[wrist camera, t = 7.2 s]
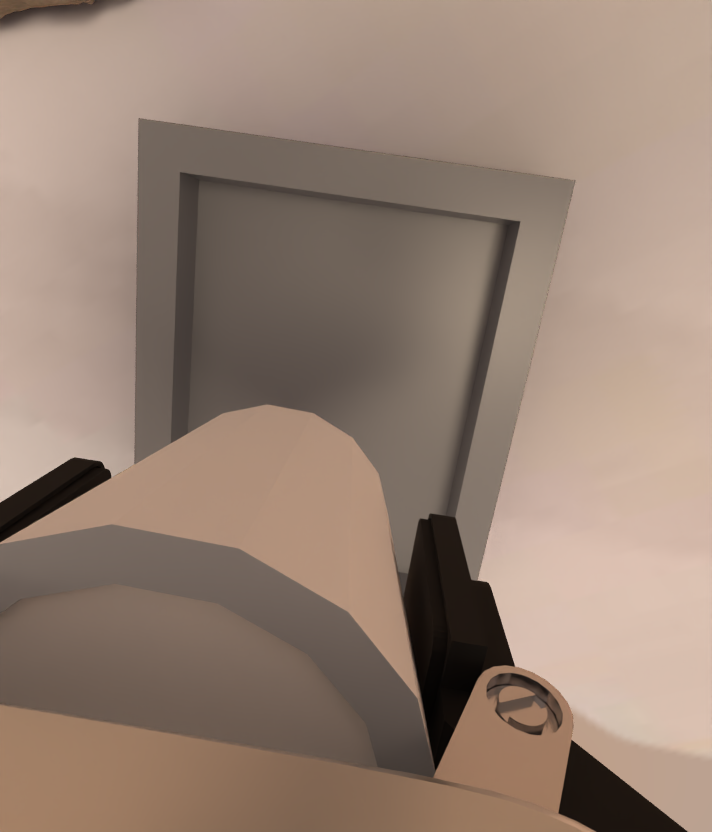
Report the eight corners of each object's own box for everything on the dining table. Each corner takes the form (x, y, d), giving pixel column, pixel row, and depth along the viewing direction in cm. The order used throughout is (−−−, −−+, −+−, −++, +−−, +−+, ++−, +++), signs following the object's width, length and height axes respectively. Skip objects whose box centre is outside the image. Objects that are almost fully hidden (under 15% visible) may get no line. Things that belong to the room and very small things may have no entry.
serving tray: (172, 136, 22) (138, 118, 19) (550, 191, 21) (575, 180, 18) (159, 549, 28) (132, 583, 25) (455, 596, 27) (463, 636, 24)
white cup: (219, 658, 14) (69, 1008, 8) (89, 442, 13) (-250, 647, 6) (453, 580, 13) (520, 913, 6) (344, 331, 11) (280, 432, 5)
